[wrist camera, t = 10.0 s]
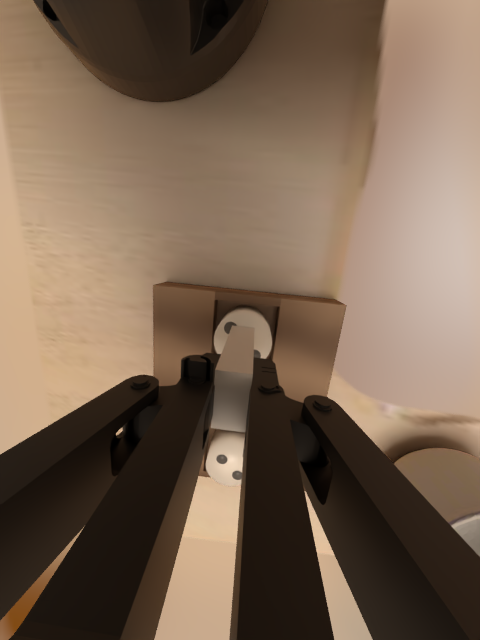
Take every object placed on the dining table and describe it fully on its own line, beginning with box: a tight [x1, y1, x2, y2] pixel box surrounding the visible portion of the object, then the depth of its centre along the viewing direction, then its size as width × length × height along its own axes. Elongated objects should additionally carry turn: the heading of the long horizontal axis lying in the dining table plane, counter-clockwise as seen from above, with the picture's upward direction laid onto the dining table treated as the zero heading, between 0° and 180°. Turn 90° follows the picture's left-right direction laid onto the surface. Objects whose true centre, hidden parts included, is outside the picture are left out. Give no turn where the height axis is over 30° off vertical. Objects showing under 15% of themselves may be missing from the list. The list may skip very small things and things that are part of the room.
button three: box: [214, 306, 272, 359], centre depth 17 cm, size 4×4×3 cm
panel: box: [153, 282, 346, 491], centre depth 20 cm, size 17×14×2 cm
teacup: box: [394, 448, 480, 557], centre depth 19 cm, size 14×11×8 cm
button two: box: [206, 429, 245, 486], centre depth 20 cm, size 4×4×3 cm
